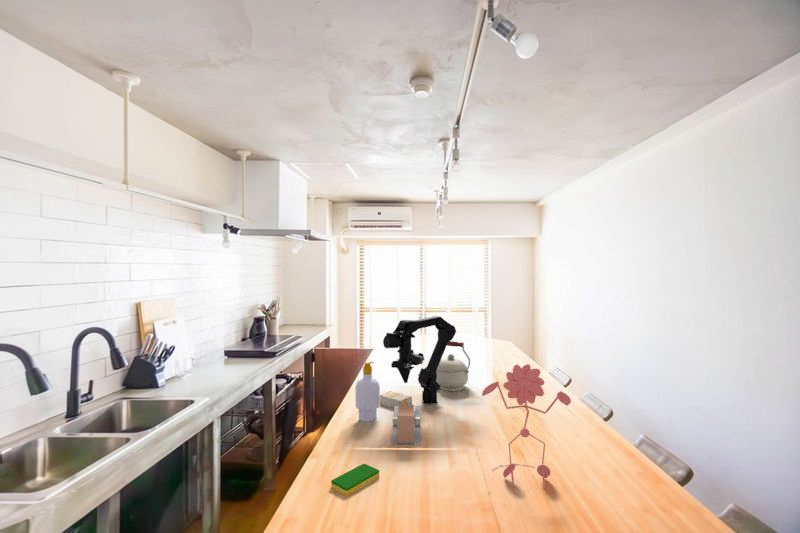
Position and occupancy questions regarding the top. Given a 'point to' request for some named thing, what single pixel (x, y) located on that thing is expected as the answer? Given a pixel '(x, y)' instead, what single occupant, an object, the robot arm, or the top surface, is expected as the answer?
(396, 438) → the chute
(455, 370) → the kettle
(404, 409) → the block
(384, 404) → the supplement box
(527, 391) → the figurine
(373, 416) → the soap bottle
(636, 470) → the top surface
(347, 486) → the dish sponge
